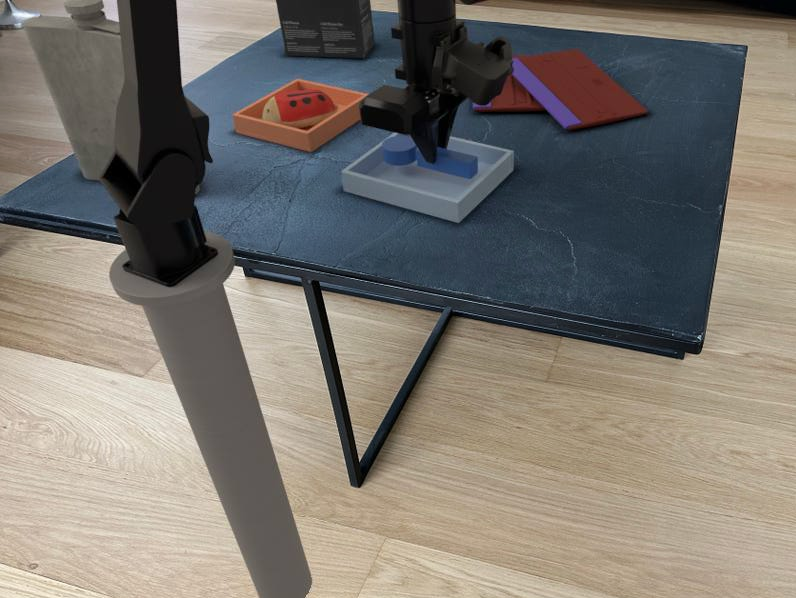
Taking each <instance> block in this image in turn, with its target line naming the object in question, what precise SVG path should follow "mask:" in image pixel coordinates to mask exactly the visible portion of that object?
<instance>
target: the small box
mask: <svg viewBox="0 0 796 598" xmlns="http://www.w3.org/2000/svg"><path fill="white" fill-rule="evenodd" d="M275 4H276V8H277V14H278V19H279V25H280V30H281V36H282V40H283V46H284V55H285V56H286V57H311V58H342V59H365V58H366V57H367V55H368V54H369V53H370V52H371V50H372V49H373V48H374V46H375V44H376V39H375V31H374V23H373V14H372V5H371V0H275Z"/></svg>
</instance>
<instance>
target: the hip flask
mask: <svg viewBox="0 0 796 598" xmlns="http://www.w3.org/2000/svg"><path fill="white" fill-rule="evenodd" d="M63 6H64V8H65V12H66V13H67V14H69V15H70V17H68V16H52V15H41V16H35V17H30V18H27V19H25V20H23V21H22V22H21V25H22V28H23V30H24V32H25V36H26V37H27V41H28V43H29V45H30V47H31V50H32V52H33V55H34V57H35V60H36V62H37V64H38V67H39V69H40V72H41V74H42V77H43V79H44V82H45V84H46V87H47V90H48V92H49V94H50V97H51V99H52V102H53V104H54V106H55V109H56V111H57V114H58V117H59V119H60V121H61V123H62V126H63V129H64V131H65V134H66V136H67V139H68V141H69V143H70V145H71V146H70V147H71V148H72V151H73V153H74V156H75V158H76V160H77V164H78V165H79V168H80V170H81V173H82V175H83V178H85V179H86V180H90V181H99V177H100V175H101V174H102V172H103V170H104V168H105V167H106V165H107V163H108V161H109V160H110V158H111V156H112V154H113V153H114V151H115V146H114V133H115V119H116V107H117V104H118V101H119V97H120V94H121V91H122V87H123V84H124V76H125V74H124V64H123V55H122V46H121V36H120V27H119V21H116V20H113V19H109V18H107V16H106V13H105V11H103V9H105V4H104V1H103V0H65V1H64V2H63ZM200 190H201V188H200V184H199V185H198V186H197V187H196V190H195V196H196V195H197V194H198V193H199V192H200Z"/></svg>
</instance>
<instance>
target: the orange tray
mask: <svg viewBox="0 0 796 598" xmlns="http://www.w3.org/2000/svg"><path fill="white" fill-rule="evenodd" d="M303 89H313V90H320V91H322V92H324V93H325V94H327V95H328V96H329V97H330V98H331V99H332V101H333V103H337V104H338V109H337V112H336V113H335V114H333V115H331V116H330V117H328V118H327V119H325V120H324V121H322V122H320V123H319V124H317V125H315V126H311V127H306V128H299V129H297V128H293V127H289V126H285V125H281V124H277V123H273V122H269V121H265V120H263V118H262V117H263V110H264V107H265V105H266V103H267V102H268V101H269V100H270V99H271V98H272V97H274V96H276V95H278V94H281V93H284V92H288V91H295V90H303ZM369 94H370V93H365V92H361V91H357V90H351V89H347V88H344V87H343V88H342V87H338V86H333V85H329V84H325V83H319V82H314V81H311V80H306V79H303V78H296V79H293V80H292V81H290V82H288V83H287V84H285V85H283V86H281V87H279V88H278V89H276V90H274V91H272V92H270V93H269V94H267V95H265V96H263V97H261V98H259V99H257V100H256V101H254V102H252V103H250V104H249V105H247V106H245V107H244V108H241V109H240V110H238V111H236V112H234V113H232V119H233V124H234V128H235V133H236V134H239V135H244V136H247V137H251V138H255V139H257V140H258V139H259V140H261V141H265V142H266V141H267V142H271V143H273V144H277V145H280V146H281V145H282V146H286V147H290V148H292V149H296V150H300V151H305V152H308V153H312V152H314V151H315V150H317V149H318V148H320V147H321V146H323V145H324V144H326V143H327V142H329V141H331V140H332V139H334V138H335V137H337V136H338V135H340V134H341V133H342V132H344V131H345V130H347V129H348V128H350V127H352V126H353V125H354V124H356V123H358V122H359V121H361V119H360V111H359V103H360V102H361V101H362V100H363V98H364V97H365V96H367V95H369Z"/></svg>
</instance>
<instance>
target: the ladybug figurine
mask: <svg viewBox="0 0 796 598" xmlns="http://www.w3.org/2000/svg"><path fill="white" fill-rule="evenodd" d="M337 109H338V104H337V103H333V101H332V99H331V98H330V97H329V96H328V95H327V94H325V93H324V92H322V91H320V90H313V89H303V90H295V91H288V92H284V93H281V94H278V95H276V96H274V97H272V98H271V99H270V100H269V101H268V102H267V103H266V105H265V107H264V110H263V117H262V118H263V120H265V121H269V122H273V123H277V124H281V125H285V126H289V127H293V128H297V129H299V128H306V127H311V126H315V125H317V124H319V123H320V122H322V121H324V120H325V119H327V118H328V117H330V116H331V115H333V114H335V113H336V112H337Z"/></svg>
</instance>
